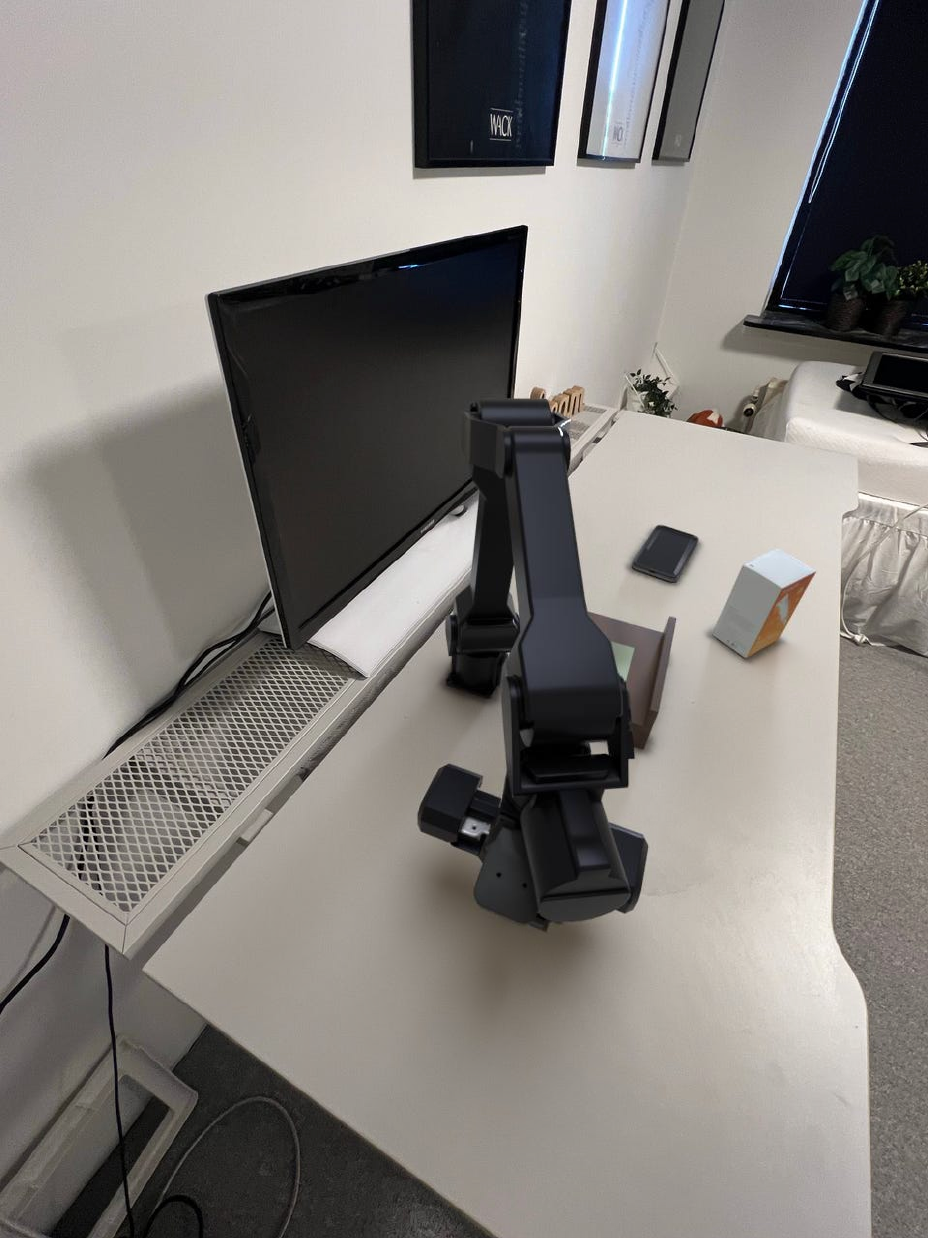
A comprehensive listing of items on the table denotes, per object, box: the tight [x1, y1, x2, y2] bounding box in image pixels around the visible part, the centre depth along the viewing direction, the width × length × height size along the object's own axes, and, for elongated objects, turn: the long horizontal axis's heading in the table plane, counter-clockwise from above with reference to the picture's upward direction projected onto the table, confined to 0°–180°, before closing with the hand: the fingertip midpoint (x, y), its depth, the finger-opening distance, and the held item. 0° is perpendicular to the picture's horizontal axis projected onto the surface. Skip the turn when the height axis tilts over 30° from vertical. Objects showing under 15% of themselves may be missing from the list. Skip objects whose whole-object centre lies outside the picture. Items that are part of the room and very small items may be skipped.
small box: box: [711, 548, 817, 659], centre depth 84 cm, size 8×6×13 cm
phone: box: [631, 524, 699, 583], centre depth 104 cm, size 8×1×15 cm
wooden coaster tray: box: [588, 611, 677, 750], centre depth 78 cm, size 14×18×7 cm
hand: (519, 878), depth 56 cm, fingers closed on supplement bottle, 5 cm apart
